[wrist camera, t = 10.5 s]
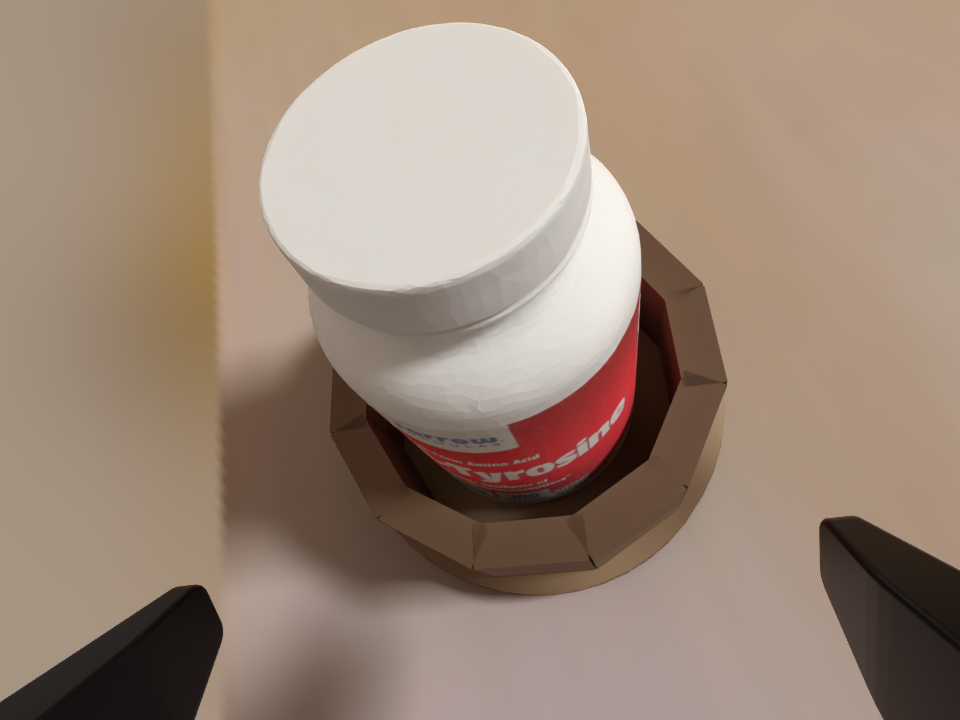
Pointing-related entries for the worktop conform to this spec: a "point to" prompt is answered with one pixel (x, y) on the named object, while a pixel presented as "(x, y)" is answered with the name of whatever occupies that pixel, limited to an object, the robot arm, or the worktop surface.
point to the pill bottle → (465, 254)
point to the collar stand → (590, 510)
